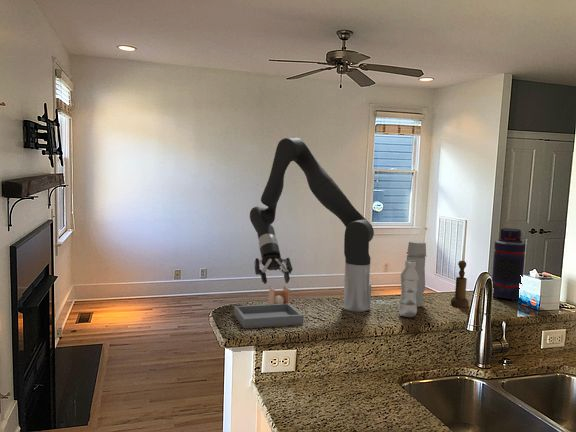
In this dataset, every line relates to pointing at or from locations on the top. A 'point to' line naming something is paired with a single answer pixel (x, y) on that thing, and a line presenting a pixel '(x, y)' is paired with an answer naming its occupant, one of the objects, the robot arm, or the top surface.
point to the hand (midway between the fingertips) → (276, 282)
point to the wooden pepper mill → (460, 288)
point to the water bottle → (418, 266)
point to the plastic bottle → (408, 290)
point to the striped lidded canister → (508, 264)
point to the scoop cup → (284, 294)
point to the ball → (279, 299)
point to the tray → (268, 315)
